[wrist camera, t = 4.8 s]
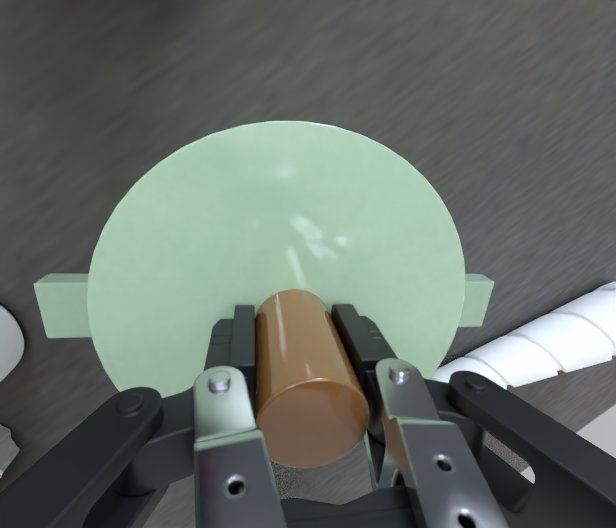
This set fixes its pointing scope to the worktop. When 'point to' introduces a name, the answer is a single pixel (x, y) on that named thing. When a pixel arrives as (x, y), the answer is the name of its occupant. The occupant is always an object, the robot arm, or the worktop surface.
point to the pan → (74, 318)
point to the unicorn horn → (547, 343)
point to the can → (9, 342)
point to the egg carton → (6, 449)
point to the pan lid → (277, 273)
